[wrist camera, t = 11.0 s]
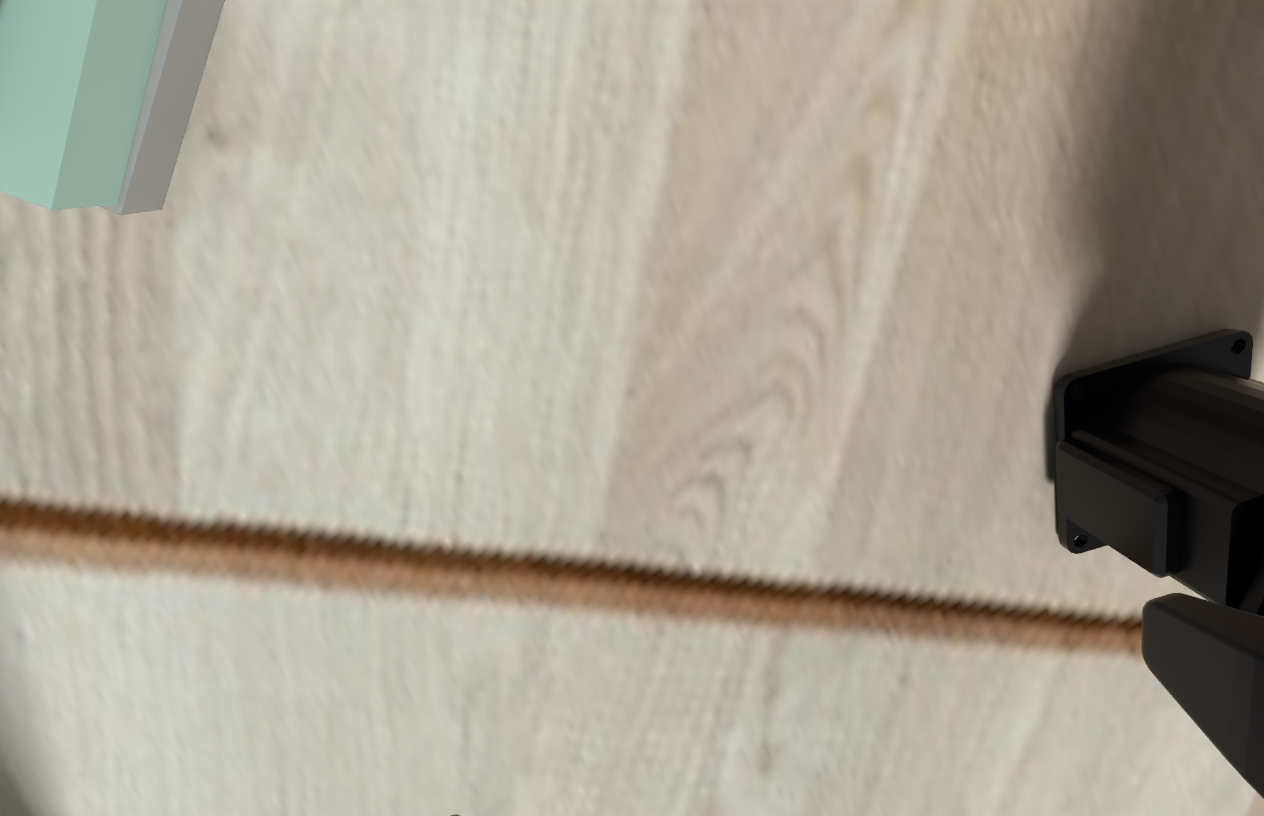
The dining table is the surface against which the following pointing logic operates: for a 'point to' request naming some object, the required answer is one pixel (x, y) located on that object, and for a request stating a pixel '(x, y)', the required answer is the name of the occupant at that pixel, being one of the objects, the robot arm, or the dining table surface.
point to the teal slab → (72, 96)
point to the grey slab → (167, 102)
